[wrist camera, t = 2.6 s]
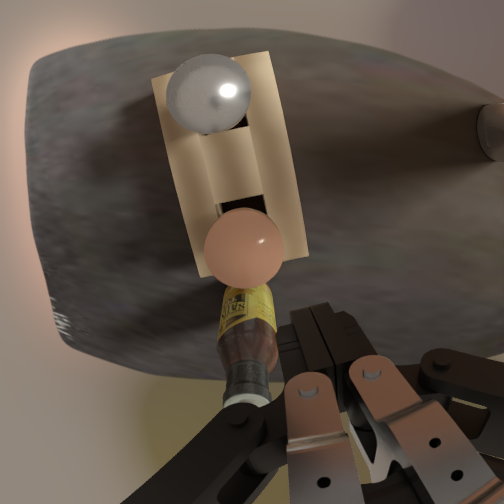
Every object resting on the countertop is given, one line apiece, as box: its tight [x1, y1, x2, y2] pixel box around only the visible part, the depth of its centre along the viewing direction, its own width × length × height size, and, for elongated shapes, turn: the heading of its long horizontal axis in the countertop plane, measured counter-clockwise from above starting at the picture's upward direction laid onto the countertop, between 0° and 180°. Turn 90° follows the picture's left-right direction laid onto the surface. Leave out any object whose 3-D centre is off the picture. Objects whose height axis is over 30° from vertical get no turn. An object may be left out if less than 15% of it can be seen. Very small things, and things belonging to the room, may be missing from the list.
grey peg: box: [166, 54, 251, 134], centre depth 22 cm, size 6×6×8 cm
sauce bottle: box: [217, 282, 278, 409], centre depth 31 cm, size 6×6×20 cm
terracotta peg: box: [204, 207, 284, 289], centre depth 27 cm, size 6×6×8 cm
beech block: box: [151, 51, 309, 278], centre depth 32 cm, size 12×22×6 cm, turn 12°
